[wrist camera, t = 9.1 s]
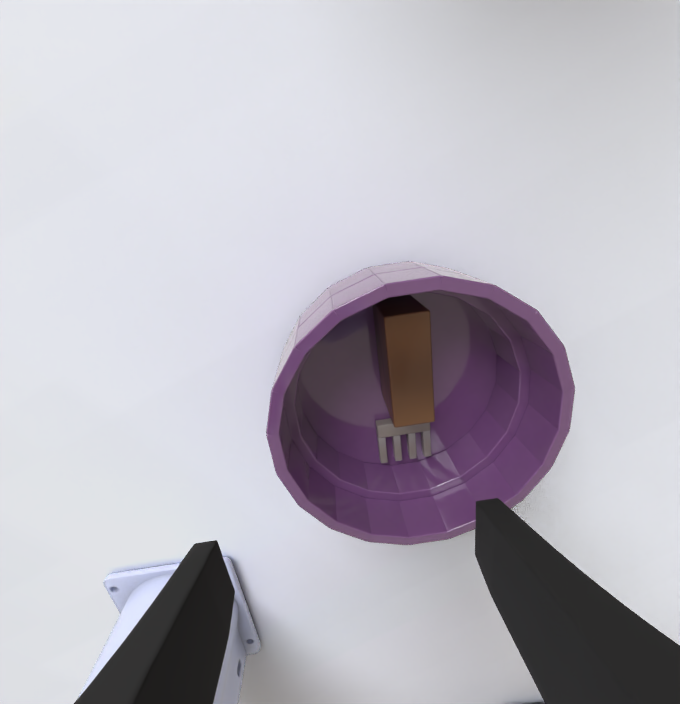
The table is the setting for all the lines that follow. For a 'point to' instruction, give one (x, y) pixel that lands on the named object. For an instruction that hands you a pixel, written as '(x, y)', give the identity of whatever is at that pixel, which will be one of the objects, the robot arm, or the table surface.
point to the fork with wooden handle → (404, 374)
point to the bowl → (449, 405)
